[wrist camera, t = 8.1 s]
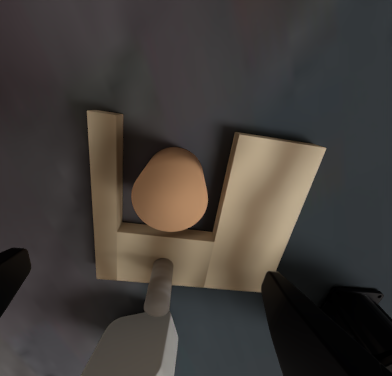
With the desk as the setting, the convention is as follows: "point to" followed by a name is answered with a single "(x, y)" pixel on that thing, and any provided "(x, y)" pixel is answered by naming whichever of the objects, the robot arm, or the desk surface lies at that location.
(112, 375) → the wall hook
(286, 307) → the robot arm
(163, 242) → the pale wood u-shaped block
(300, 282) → the desk surface
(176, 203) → the tan rounded cone
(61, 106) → the desk surface
